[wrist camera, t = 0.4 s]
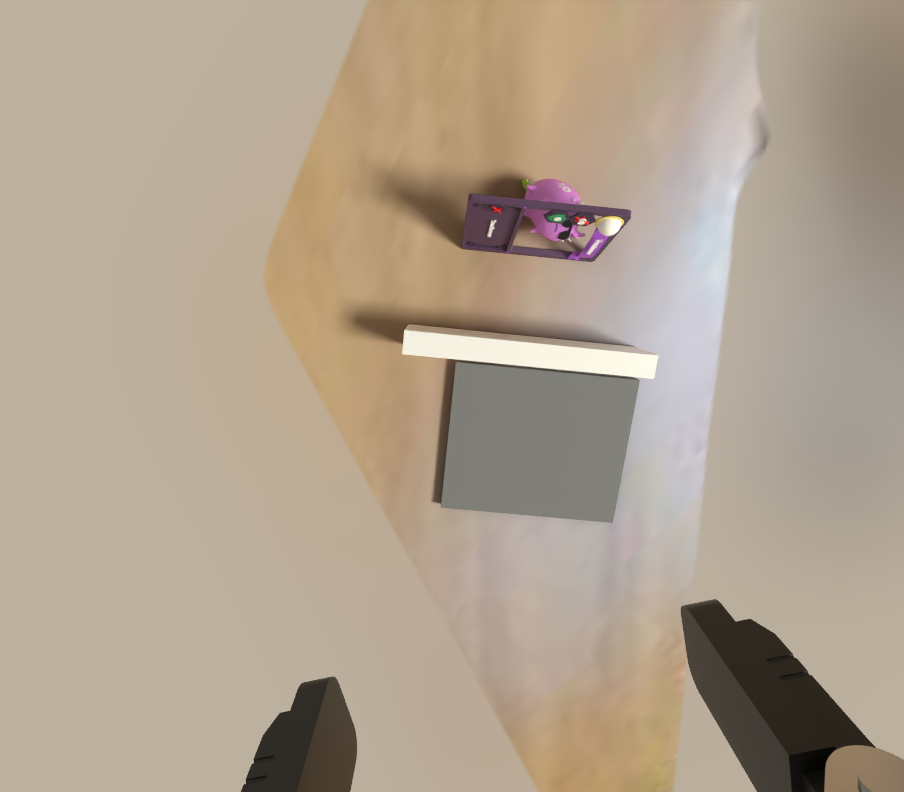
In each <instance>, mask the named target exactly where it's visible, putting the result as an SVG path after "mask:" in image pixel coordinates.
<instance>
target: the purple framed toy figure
mask: <svg viewBox="0 0 904 792" xmlns="http://www.w3.org/2000/svg"><path fill="white" fill-rule="evenodd" d="M531 183H532V182H531V181H530V182H528V180H527V179H526V180H525V179H524V180H522V186H523V188H524V189H525V191H526V194H525V198H524V199H519V198H509V197H499V196H489V195H479V194H470V195H469V198H468V204H467V211H466V218H465V225H464V232H463V239H462V249H467V250H477V251H487V252H497V253H507V254H517V255H528V256H538V257H548V258H558V259H567V260H576V261H588V262H592V261H595V259H596V258H597V257H598V256H599V255H600V254H601V252H602V251H603V250H604V249H605V248H606V247H607V245H608V244H609V243H610V242H611V241H612V240H613V238H614V237H615V236H616V235H617V234H618V233H619V231H620V230H621V229H622V228H623V227H624V226H625V224H626V223H627V222H628V221H629V220H630V218H631V211H630V210H626V209H617V208H607V207H597V206H587V205H582V203H584V202H582V201H581V200H580V198H579V196H578V194H577V193H576V191H575V190H574V189H573V188H572V187H570V186H569V185H567V184H565V183H563V182H561V181H558V180H553V179H544V180H540V181H537V182H535V183H534V184H532V185H530V184H531ZM594 215H597V216H603V217H601V218H599V219H597V220H596V219H595V217H594ZM523 216H525V217H529V218H530V219H531V220H532V222H533V223H534V225H535V226H536V227H535V228H533V229H532V230H531V231H530V232H531V233H539V234H541V235H542V236H544V237H545V238H546V239H548V240H552V241H559V240H561V241H562V242H564V240H565V239H567V240H568V241H570V242H572V241H571V240H570V236H572V237H574V238H575V239H578V238H577V236H580V237H583V236H585V235H586V234H582V233H580V232H578V231H577V230H576V229H577V227H578V226H587V225H589V224H591V223H593V222H595V226H596V227H597V228H596V230H595V232H594V234H593V236H592V238H591V239H590V241H589V242H588V244H587V245H586V246H585V248H584V249H583V251H582V252H564V251H554V250H544V249H534V248H524V247H514V246H512V244H513V241H514V239H515V236H516V233H517V231H518V228H519V226H520V223H521V221H522V218H523Z"/></svg>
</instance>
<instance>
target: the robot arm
mask: <svg viewBox="0 0 904 792" xmlns="http://www.w3.org/2000/svg"><path fill="white" fill-rule="evenodd" d="M681 617H682V624H683V631H684V638H685V644H686V651H687V658H688V664H689V668H690V671H691V674H692V677H693V680H694V682H695V684H696V687H697V689H698V691H699V693H700V695H701V696H702V698H703V700H704V701H705V703H706V705H707V707H708V708H709V710H710V712H711V714H712V715H713V717H714V719H715V720H716V722H717V724H718V725H719V727H720V729H721V730H722V732H723V734H724V736H725V737H726V739H727V741H728V743H729V744H730V746H731V748H732V749H733V751H734V753H735V755H736V756H737V758H738V760H739V761H740V763H741V765H742V767H743V768H744V770H745V772H746V773H747V775H748V777H749V778H750V780H751V782H752V784H753V785H754V787H755V789H756V790H757V792H904V760H903V759H901V758H900V757H897V756H895V755H893V754H891V753H889V752H886V751H884V750H881V749H878V748H876V747H875V746H874V745H873V744H872V743H871V742H870V741H869V740H868V739H867V738H866V737H865V735H864V734H863V733H862V732H861V731H860V730H859V729H858V727H857V726H856V725H855V724H854V723H853V722H852V721H851V720H850V718H849V717H848V716H847V715H846V714H845V713H844V712H843V710H842V709H841V708H840V707H839V706H838V705H837V704H836V703H835V701H834V700H833V699H832V698H831V697H830V696H829V695H828V693H827V692H826V691H825V690H824V689H823V688H822V687H821V685H819V683H818V682H817V681H816V680H815V679H814V678H813V676H812V675H809V674H808V671H807V670H806V669H805V667H804V666H803V665H802V664H801V663H800V662H799V661H798V659H796V658H794V656H793V654H792V653H791V651H790V650H789V649H788V648H787V647H786V646H785V645H784V644H783V642H782V641H781V640H780V639H779V638H778V637H777V636H776V634H774V633H773V632H771V631H769V630H767V629H766V628H765V627H763V626H761V625H760V624H758V623H756V622H755V621H753V620H751V619H747V620H742V621H737V622H735V621H734V619H733V618H732V617H731V615H730V614H729V613H728V612H727V611H726V609H725V608H724V607H723V606H722V604H721V603H720V602H719V601H718V600H716V599H714V600H708V601H704V602H699V603H694V604H689V605H684V606H682V607H681ZM356 756H357V739H356V732H355V728H354V724H353V722H352V719H351V716H350V713H349V710H348V708H347V705H346V702H345V699H344V696H343V694H342V691H341V688H340V685H339V683H338V681H337V679H336V678H335V677H328V678H324V679H318V680H314V681H309V682H304V683H302V684H301V685H300V686H299V688H298V690H297V693H296V696H295V699H294V702H293V704H292V707H291V710H290V711H287V712H282V713H280V714H279V715H278V716H277V718H276V719H275V720H274V722H273V723H272V724H271V726H270V727H269V728H268V729H267V731H266V732H265V734H264V735H263V737H262V740H261V742H260V745H259V747H258V750H257V752H256V755H255V758H254V764H252V765H251V767H250V770H249V773H248V775H247V778H246V784H244V785H243V788H242V790H241V792H350V790H351V785H352V779H353V774H354V768H355V763H356Z"/></svg>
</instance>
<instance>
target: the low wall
mask: <svg viewBox="0 0 904 792" xmlns="http://www.w3.org/2000/svg"><path fill="white" fill-rule="evenodd" d="M402 354H407V355H417V356H427V357H437V358H447V359H457V360H468V361H478V362H488V363H498V364H508V365H518V366H528V367H538V368H549V369H559V370H569V371H579V372H589V373H599V374H609V375H620V376H630V377H640V378H650V379H654V376H655V371H656V366H657V360H658V355H656V354H653V353H650V352H648V351H645V350H642V349H640V348H637V347H632V346H622V345H612V344H602V343H592V342H582V341H572V340H562V339H553V338H543V337H533V336H523V335H513V334H503V333H493V332H483V331H473V330H463V329H453V328H443V327H433V326H423V325H413V324H409V325H408V326H407V327H406V329H405V330H404V340H403V353H402Z"/></svg>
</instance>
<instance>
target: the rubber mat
mask: <svg viewBox="0 0 904 792" xmlns="http://www.w3.org/2000/svg"><path fill="white" fill-rule="evenodd" d="M639 381H640V380H638V379H635V378H625V377H614V376H604V375H594V374H584V373H574V372H564V371H553V370H543V369H533V368H523V367H513V366H503V365H493V364H482V363H472V362H462V361H456V364H455V374H454V383H453V393H452V402H451V412H450V422H449V431H448V441H447V450H446V460H445V470H444V479H443V489H442V499H441V508H453V509H464V510H475V511H486V512H498V513H509V514H520V515H531V516H542V517H554V518H565V519H576V520H587V521H599V522H610V523H613V518H614V513H615V508H616V502H617V497H618V492H619V487H620V481H621V476H622V471H623V465H624V460H625V455H626V450H627V444H628V439H629V434H630V429H631V423H632V418H633V413H634V408H635V402H636V397H637V392H638V387H639Z"/></svg>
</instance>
